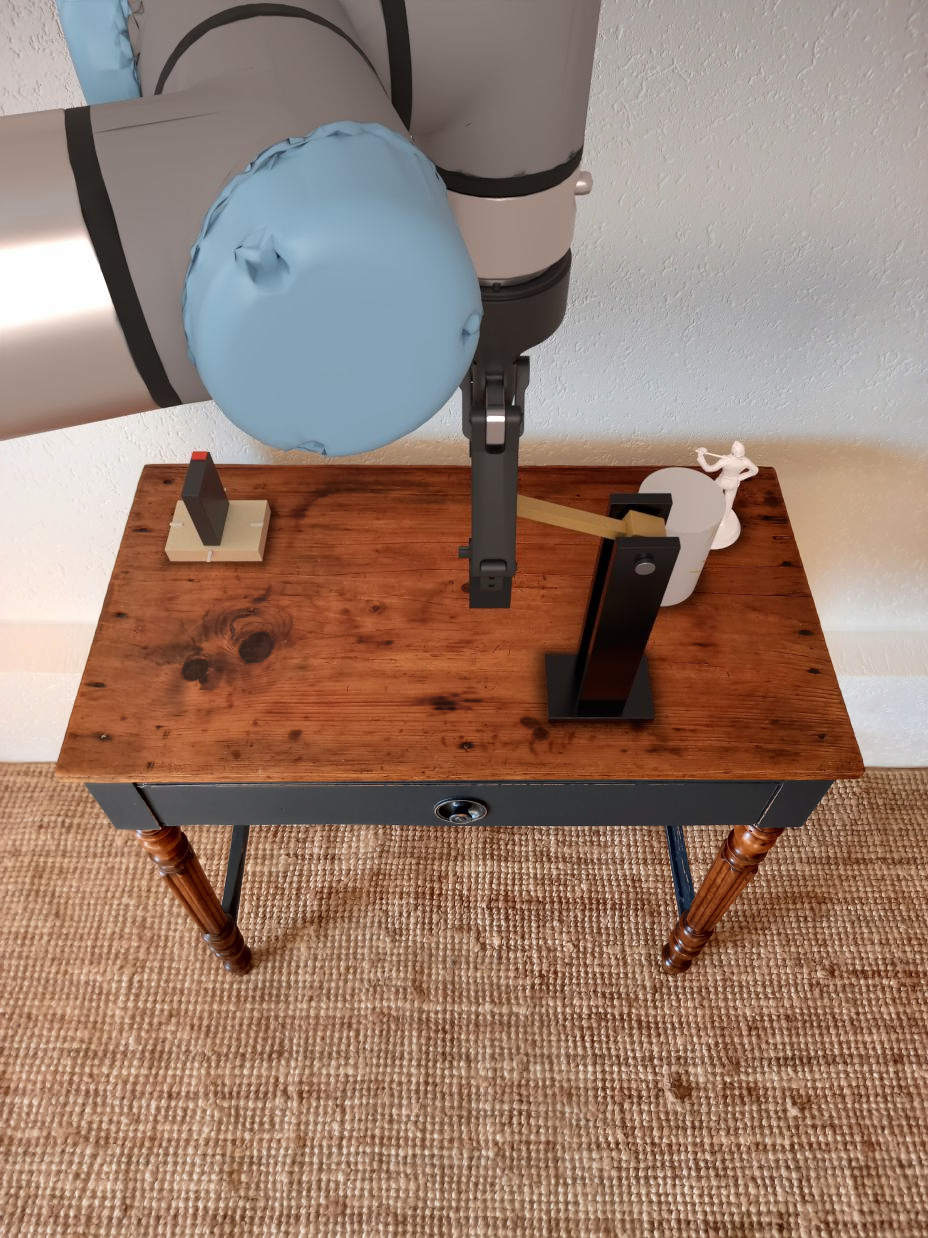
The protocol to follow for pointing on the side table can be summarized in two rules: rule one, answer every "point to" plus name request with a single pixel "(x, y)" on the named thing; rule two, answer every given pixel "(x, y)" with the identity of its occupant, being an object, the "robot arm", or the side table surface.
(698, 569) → the light grey cylinder
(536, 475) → the side table surface
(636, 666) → the latch bracket
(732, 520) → the figurine
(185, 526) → the plate
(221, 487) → the thumbturn
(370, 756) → the side table surface
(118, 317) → the robot arm
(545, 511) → the latch lever
